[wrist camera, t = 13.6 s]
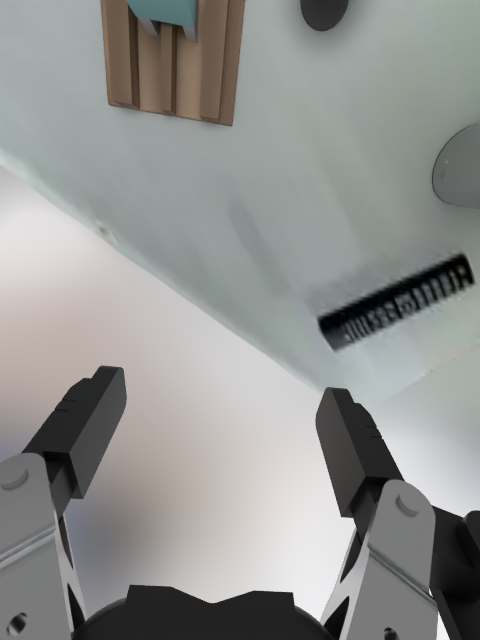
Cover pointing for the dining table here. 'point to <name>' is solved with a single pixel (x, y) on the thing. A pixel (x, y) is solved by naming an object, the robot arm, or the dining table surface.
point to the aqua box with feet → (168, 15)
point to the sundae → (323, 12)
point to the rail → (174, 62)
